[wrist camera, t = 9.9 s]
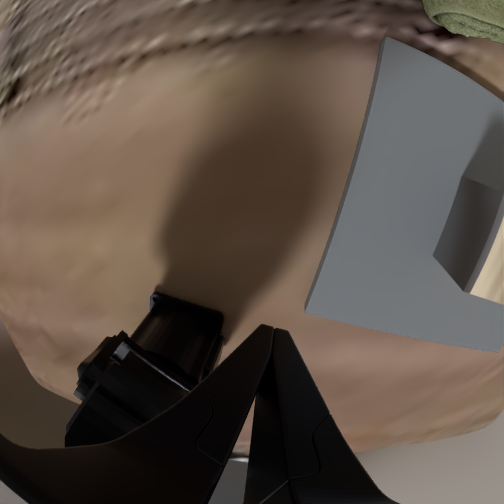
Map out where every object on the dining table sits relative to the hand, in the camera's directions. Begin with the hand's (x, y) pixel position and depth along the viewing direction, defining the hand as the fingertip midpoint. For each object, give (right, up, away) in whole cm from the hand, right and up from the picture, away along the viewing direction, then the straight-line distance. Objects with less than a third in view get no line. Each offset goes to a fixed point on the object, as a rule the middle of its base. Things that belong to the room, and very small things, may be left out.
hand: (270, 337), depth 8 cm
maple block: (+12, +4, +5) cm, 14 cm away
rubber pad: (+16, +5, +8) cm, 19 cm away
